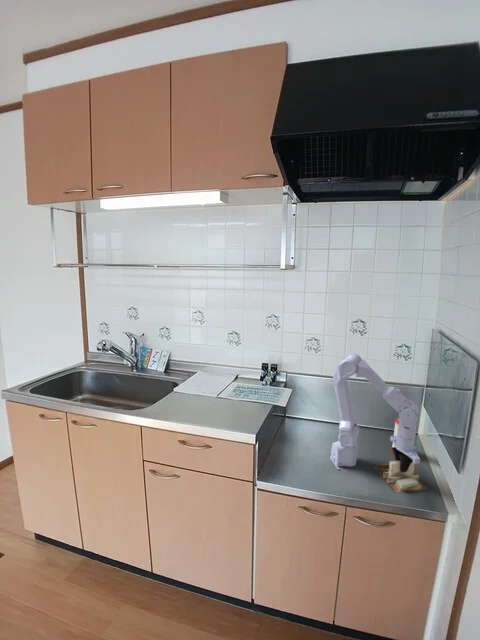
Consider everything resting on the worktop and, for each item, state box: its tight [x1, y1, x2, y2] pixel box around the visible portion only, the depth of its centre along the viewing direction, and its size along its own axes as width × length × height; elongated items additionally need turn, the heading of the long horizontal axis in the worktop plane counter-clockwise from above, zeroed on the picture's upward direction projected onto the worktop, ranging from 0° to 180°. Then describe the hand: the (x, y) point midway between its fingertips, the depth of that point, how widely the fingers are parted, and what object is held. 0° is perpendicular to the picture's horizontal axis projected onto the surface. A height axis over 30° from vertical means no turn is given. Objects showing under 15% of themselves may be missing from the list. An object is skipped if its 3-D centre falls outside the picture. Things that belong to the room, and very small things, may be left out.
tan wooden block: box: [388, 460, 416, 477], centre depth 122 cm, size 9×2×7 cm, turn 98°
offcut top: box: [396, 477, 418, 488], centre depth 118 cm, size 7×3×1 cm, turn 106°
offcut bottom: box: [395, 482, 421, 491], centre depth 118 cm, size 8×3×1 cm, turn 98°
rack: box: [373, 463, 429, 493], centre depth 123 cm, size 13×14×3 cm
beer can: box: [391, 416, 400, 455], centre depth 138 cm, size 6×6×16 cm
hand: (401, 469), depth 122 cm, fingers closed
